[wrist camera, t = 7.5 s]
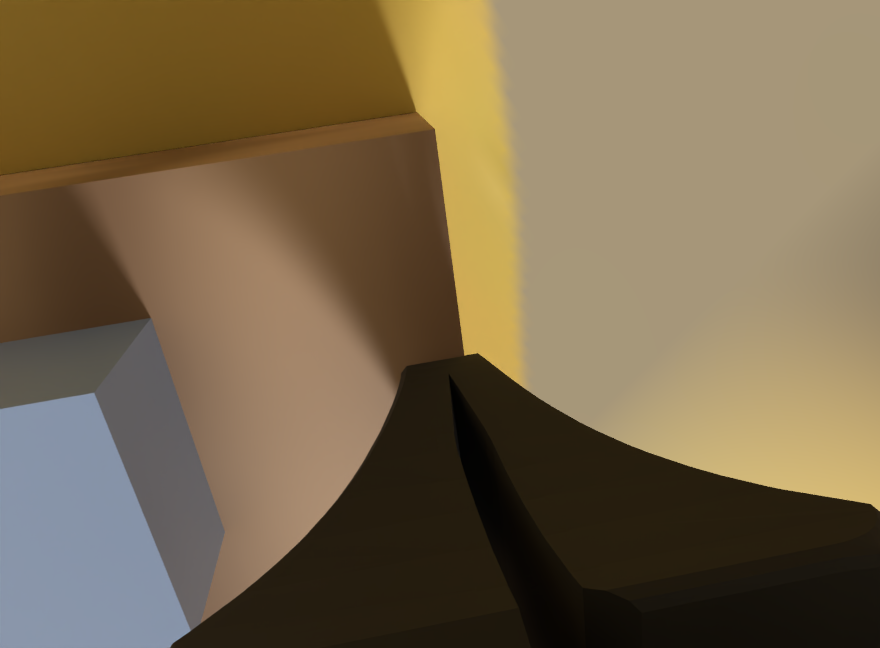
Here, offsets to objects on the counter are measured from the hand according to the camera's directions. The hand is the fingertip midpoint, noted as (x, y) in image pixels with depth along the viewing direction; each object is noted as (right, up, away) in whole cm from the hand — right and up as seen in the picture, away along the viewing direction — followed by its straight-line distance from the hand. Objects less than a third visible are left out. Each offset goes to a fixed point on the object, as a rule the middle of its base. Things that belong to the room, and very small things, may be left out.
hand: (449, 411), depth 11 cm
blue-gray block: (-7, -1, 0) cm, 7 cm away
